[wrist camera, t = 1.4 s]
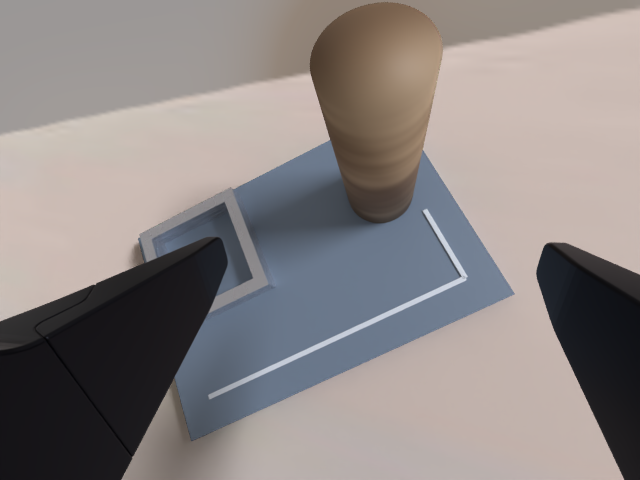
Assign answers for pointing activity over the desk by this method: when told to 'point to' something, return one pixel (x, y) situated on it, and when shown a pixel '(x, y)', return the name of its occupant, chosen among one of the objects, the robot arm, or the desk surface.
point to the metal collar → (234, 205)
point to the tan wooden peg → (377, 101)
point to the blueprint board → (327, 287)
